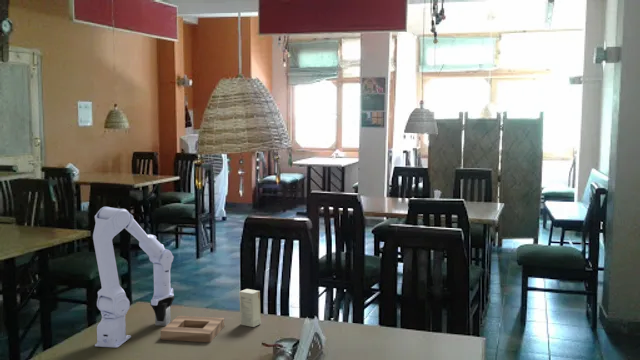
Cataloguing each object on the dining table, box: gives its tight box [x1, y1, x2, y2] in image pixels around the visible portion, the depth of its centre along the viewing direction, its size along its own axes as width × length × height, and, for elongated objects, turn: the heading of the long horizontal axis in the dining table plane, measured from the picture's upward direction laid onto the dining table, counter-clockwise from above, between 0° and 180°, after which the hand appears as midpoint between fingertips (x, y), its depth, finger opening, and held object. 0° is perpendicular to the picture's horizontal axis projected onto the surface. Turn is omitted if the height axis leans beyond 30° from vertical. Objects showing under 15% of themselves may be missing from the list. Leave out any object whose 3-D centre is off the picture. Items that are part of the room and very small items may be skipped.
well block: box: [160, 315, 225, 343], centre depth 194 cm, size 15×17×3 cm
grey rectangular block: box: [154, 306, 172, 327], centre depth 202 cm, size 4×4×6 cm
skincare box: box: [239, 288, 262, 328], centre depth 202 cm, size 6×4×12 cm
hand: (163, 318), depth 202 cm, fingers closed on grey rectangular block, 4 cm apart
